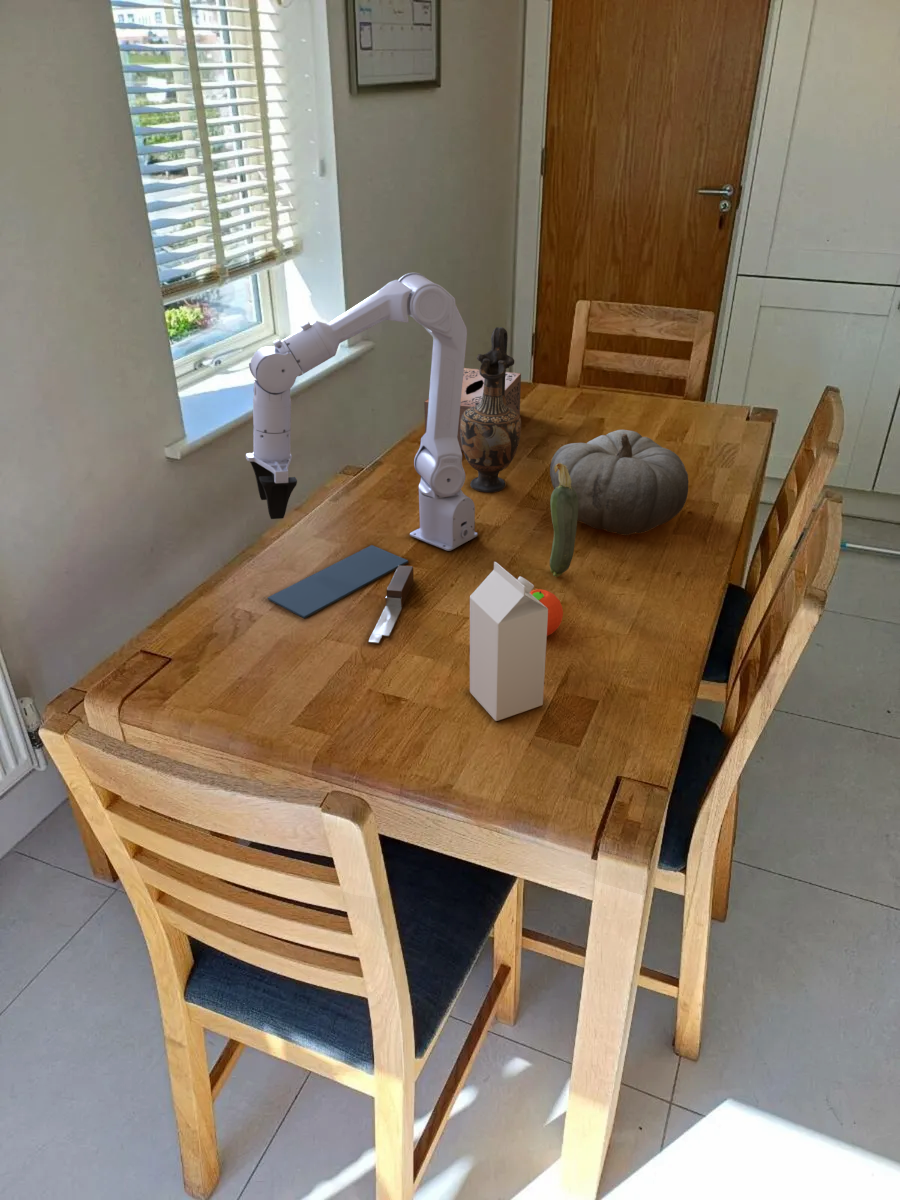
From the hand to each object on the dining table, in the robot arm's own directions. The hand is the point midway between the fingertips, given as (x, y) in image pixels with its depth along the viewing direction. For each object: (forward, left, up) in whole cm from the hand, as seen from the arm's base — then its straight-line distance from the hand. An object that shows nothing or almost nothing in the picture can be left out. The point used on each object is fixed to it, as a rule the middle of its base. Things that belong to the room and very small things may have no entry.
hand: (271, 508), depth 143 cm
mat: (-12, -3, -10) cm, 16 cm away
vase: (-7, -48, -10) cm, 50 cm away
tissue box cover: (+15, -70, -10) cm, 72 cm away
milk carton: (-52, +5, -10) cm, 53 cm away
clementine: (-46, -10, -10) cm, 48 cm away
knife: (-25, -2, -10) cm, 27 cm away
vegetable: (-39, -26, -10) cm, 48 cm away
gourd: (-34, -51, -10) cm, 62 cm away
